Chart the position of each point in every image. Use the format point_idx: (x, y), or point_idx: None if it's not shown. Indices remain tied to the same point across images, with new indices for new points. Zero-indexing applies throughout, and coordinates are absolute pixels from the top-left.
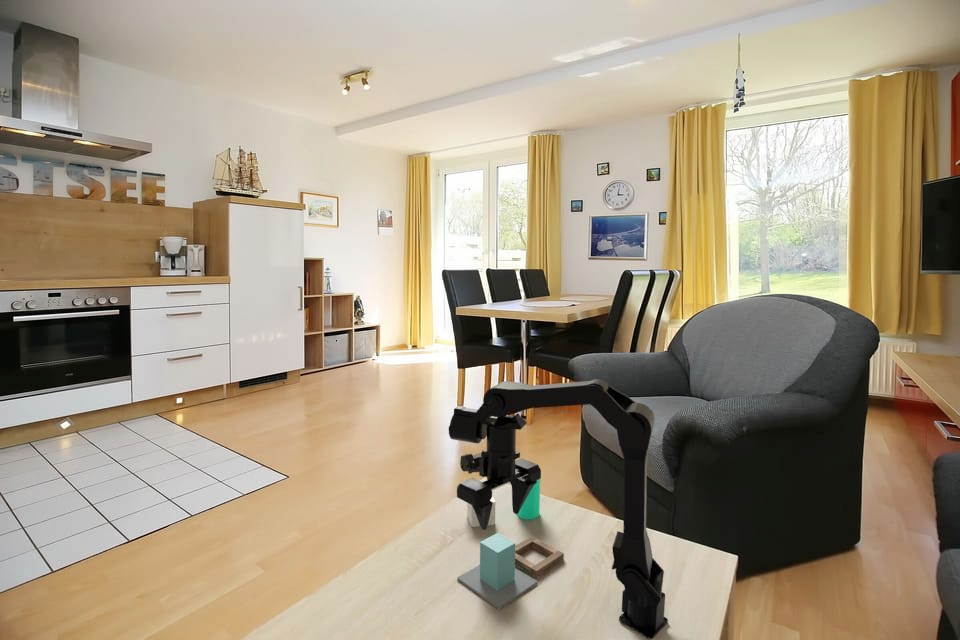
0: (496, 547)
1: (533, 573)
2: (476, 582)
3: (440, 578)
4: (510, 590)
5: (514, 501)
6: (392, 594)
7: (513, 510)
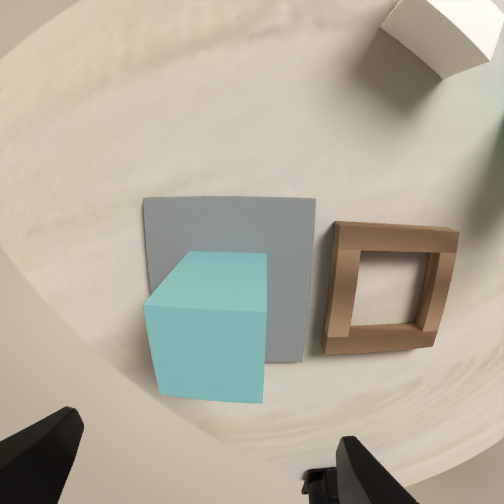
0: (177, 375)
1: (323, 339)
2: (171, 255)
3: (117, 160)
4: None
5: (360, 501)
6: (23, 145)
7: (344, 448)
